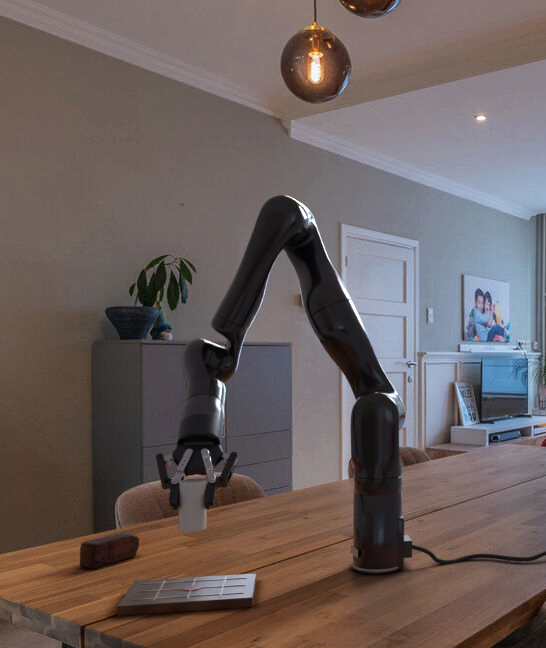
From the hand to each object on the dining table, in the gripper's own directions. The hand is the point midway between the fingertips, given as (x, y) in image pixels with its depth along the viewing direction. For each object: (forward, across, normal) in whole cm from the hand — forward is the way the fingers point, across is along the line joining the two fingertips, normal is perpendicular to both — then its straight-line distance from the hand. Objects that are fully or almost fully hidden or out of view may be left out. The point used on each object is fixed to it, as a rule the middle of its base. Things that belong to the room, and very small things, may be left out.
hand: (191, 506), depth 119 cm
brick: (-7, -18, +29) cm, 35 cm away
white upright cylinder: (+1, 0, +4) cm, 4 cm away
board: (+10, 0, +11) cm, 15 cm away
